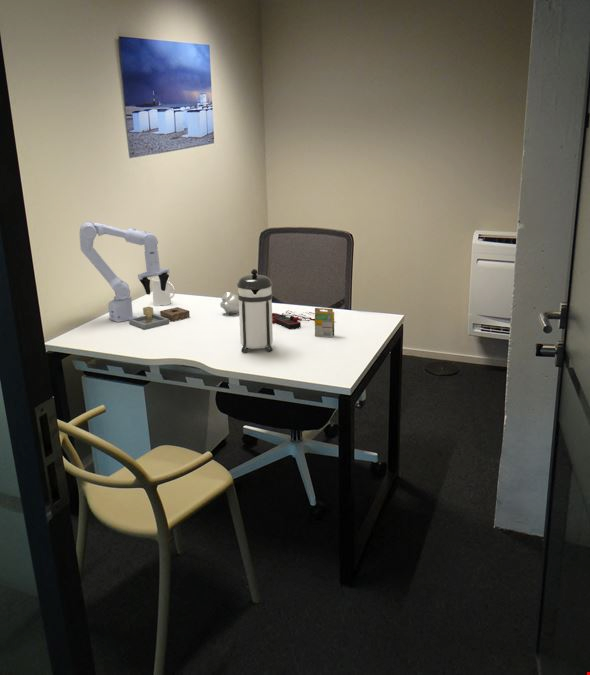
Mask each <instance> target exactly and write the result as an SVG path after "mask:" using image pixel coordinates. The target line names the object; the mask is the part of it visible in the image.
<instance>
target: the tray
mask: <svg viewBox="0 0 590 675" xmlns="http://www.w3.org/2000/svg"><path fill="white" fill-rule="evenodd" d="M136 317H137V316H136ZM128 323H129V325H132V326H134V327H137V328H139V329H142V330H148V329H153V328H157V327H158V328H159V327H161V326H166V325H170V321H169V319H167V318H164V317H161V316H160V314H156V313H154V315H152V322H151V323H146V318H145V315H141V316H138V317H137V318H133V319H129V320H128ZM165 324H166V325H165Z"/></svg>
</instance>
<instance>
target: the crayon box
mask: <svg viewBox="0 0 590 675" xmlns="http://www.w3.org/2000/svg"><path fill="white" fill-rule="evenodd" d="M314 314H315V315H314V319H315V321H314V336H315V337H319V338H320V337H321V338H322V337H324V338H332V337H335V312H334V309H333V308H321V307H320V308H319V307H314Z"/></svg>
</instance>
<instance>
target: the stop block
mask: <svg viewBox="0 0 590 675" xmlns="http://www.w3.org/2000/svg"><path fill="white" fill-rule="evenodd" d="M159 316H161V317H164V318H167V319H169V320H170V321H169V322H172V321H173V322H176V321H175V320H177V321H180V320H179V319H181V320H184V319H183V318H186V319H188V318H187V317H190V316H191V315H190V310H187V309H184V308H182V307H177V306H175V307H173V308H168V309H163V310H160V311H159ZM190 318H191V317H190Z"/></svg>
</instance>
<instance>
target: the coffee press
mask: <svg viewBox="0 0 590 675" xmlns="http://www.w3.org/2000/svg"><path fill="white" fill-rule="evenodd" d="M236 287H237V289H238V290H237V291H238V293H237V296H238V299H239V312H238V313H239V314H238V315H239V336H240V339H239V340H240V344H241V345H242V347H241V351H240V352H241V353H243V354H246V353H247V352H248V351H249V349H253V350H254V349H255V350H257V349H265V351H266V352H267V353H271V352H273V347H272V346H271V345H272V344H273V338H274V337H273V323H272V313H273V301H272V299H273V292H272V287H273V281H272V280H271V279H270V278H269V277H268V276H266V275H262V274H258V270H257V269H256V268H253V269H252V270H251V272H250V274H249V275H244V276H242V277H241V278H240V279H239V280H238V282H237V284H236Z"/></svg>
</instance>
